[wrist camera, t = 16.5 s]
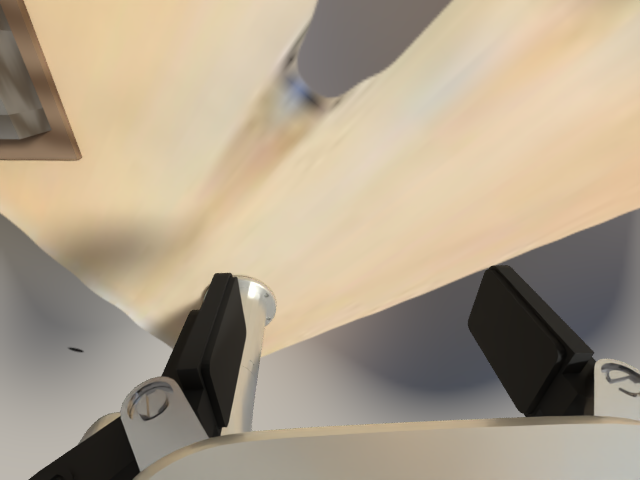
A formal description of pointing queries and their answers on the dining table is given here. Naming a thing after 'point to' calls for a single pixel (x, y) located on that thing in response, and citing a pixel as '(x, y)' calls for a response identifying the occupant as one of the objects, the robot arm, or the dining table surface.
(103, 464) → the robot arm
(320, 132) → the dining table surface
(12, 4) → the socket stand
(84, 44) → the dining table surface
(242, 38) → the dining table surface
